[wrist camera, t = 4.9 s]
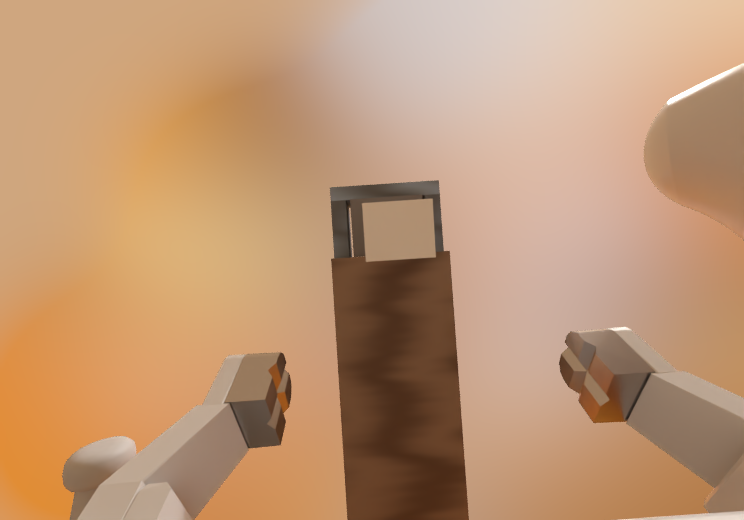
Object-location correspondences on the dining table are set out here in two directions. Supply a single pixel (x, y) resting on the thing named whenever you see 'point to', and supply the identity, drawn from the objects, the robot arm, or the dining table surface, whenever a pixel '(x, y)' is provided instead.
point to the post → (397, 373)
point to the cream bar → (393, 228)
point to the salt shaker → (94, 468)
